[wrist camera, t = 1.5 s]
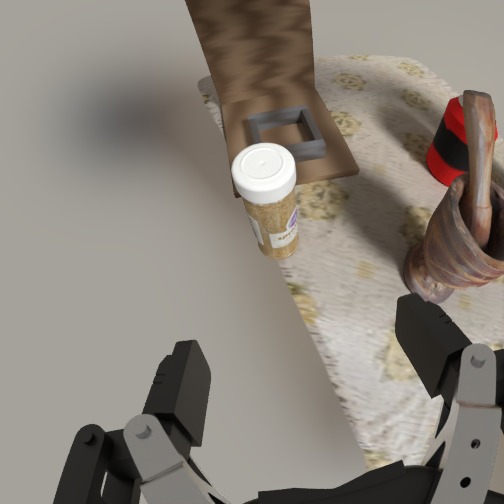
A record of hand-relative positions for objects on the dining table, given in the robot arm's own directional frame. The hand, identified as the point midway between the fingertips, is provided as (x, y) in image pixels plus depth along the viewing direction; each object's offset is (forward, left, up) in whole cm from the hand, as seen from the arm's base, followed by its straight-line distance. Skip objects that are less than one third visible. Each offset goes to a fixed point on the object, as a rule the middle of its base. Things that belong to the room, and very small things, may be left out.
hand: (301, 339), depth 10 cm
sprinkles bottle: (0, -12, -17) cm, 21 cm away
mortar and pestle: (-16, -6, -17) cm, 24 cm away
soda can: (-27, -18, -17) cm, 37 cm away
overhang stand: (-4, -29, -17) cm, 34 cm away
